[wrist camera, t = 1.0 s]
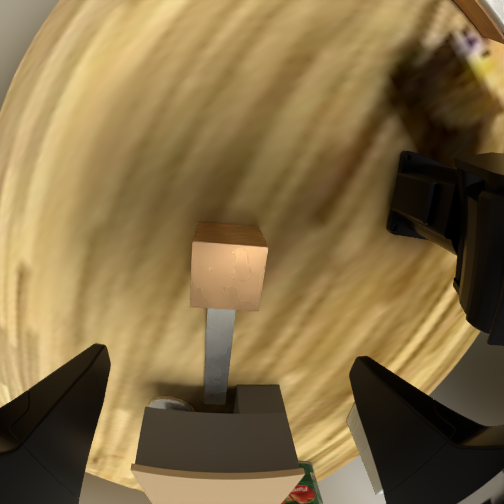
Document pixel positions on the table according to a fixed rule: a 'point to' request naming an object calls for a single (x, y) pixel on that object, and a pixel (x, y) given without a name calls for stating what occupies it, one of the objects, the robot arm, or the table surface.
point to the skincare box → (364, 448)
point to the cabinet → (219, 453)
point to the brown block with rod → (225, 291)
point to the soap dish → (485, 16)
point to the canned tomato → (305, 488)
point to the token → (170, 403)
